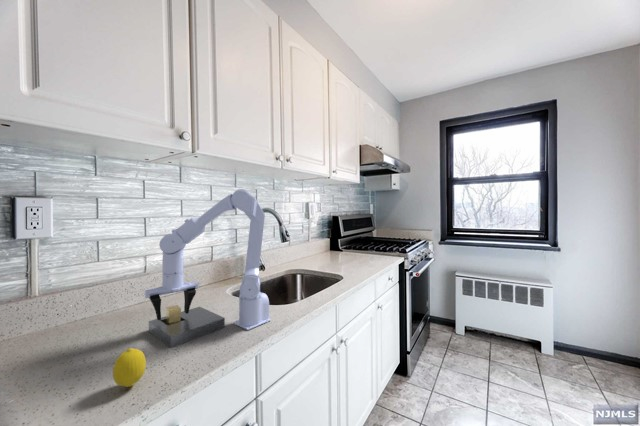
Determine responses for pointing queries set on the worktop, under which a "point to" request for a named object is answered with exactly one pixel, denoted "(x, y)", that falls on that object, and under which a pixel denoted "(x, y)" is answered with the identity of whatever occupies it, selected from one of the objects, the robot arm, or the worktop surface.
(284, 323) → the worktop surface
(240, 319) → the robot arm
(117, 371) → the lemon
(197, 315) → the peg hole base
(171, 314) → the tan wooden block
